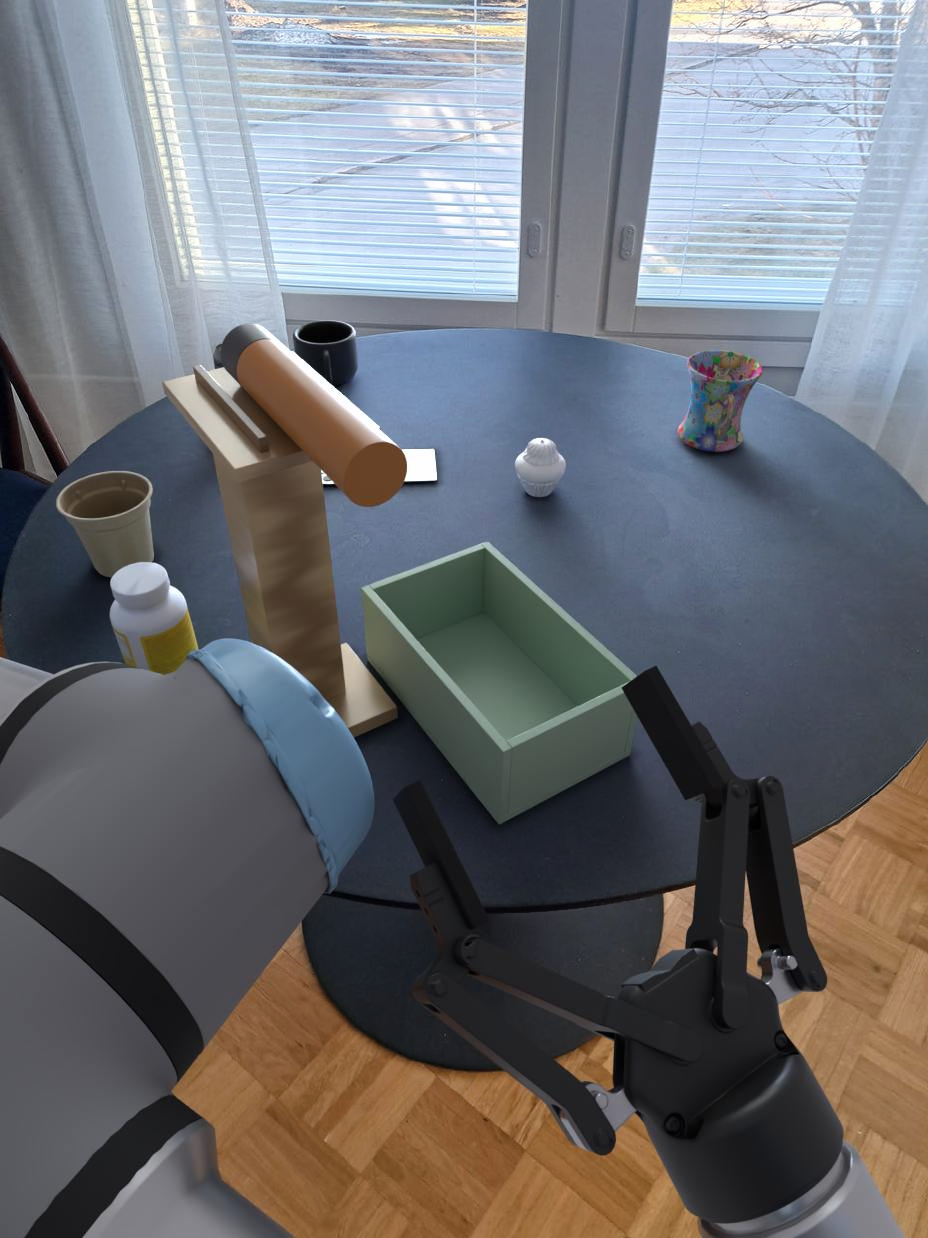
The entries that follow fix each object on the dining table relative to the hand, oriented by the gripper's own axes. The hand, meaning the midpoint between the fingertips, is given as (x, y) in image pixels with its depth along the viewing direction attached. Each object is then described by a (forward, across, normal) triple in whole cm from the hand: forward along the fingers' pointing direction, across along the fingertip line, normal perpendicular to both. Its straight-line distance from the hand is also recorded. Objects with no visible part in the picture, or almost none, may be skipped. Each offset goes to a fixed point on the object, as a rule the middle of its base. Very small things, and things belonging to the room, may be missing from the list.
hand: (529, 728), depth 42 cm
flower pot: (+40, -8, -54) cm, 68 cm away
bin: (+7, +14, -34) cm, 38 cm away
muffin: (+30, +39, -48) cm, 69 cm away
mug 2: (+27, +65, -46) cm, 84 cm away
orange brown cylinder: (+24, 0, -9) cm, 26 cm away
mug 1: (+64, +30, -68) cm, 98 cm away
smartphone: (+43, +24, -55) cm, 74 cm away
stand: (+14, 0, -38) cm, 41 cm away
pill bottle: (+23, -10, -44) cm, 51 cm away
